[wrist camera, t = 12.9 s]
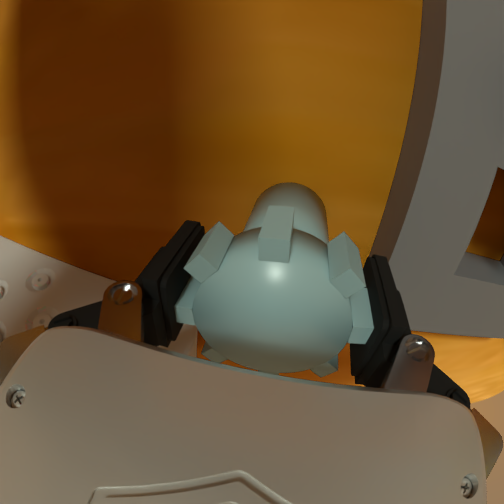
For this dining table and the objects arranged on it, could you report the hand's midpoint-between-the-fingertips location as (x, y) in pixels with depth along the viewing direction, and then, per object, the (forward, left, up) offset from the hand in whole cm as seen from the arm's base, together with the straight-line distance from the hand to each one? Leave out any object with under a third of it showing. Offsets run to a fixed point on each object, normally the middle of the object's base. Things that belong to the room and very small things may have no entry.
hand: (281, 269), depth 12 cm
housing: (-7, +12, -5) cm, 15 cm away
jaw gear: (0, 0, -5) cm, 5 cm away
